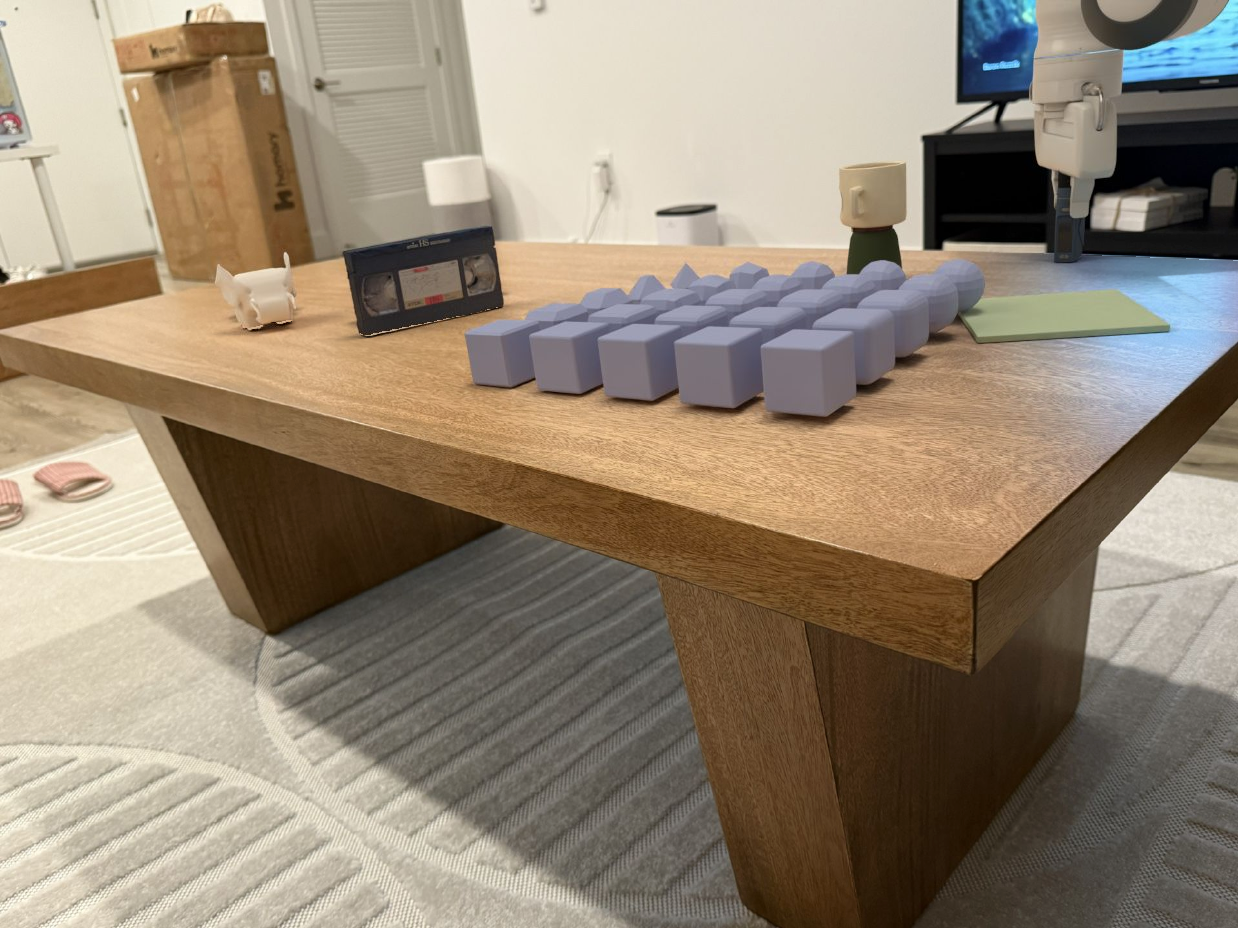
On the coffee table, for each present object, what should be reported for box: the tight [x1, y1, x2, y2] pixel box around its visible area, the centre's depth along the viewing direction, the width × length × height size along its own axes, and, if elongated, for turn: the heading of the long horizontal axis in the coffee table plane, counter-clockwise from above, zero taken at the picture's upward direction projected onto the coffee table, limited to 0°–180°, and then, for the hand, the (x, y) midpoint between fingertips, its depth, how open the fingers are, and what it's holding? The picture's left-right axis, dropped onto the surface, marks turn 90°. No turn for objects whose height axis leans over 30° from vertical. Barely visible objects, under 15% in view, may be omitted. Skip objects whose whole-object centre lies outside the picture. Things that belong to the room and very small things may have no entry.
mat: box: [957, 288, 1171, 344], centre depth 89 cm, size 15×15×1 cm
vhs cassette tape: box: [342, 225, 505, 335], centre depth 118 cm, size 18×3×10 cm, turn 123°
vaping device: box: [1053, 170, 1086, 263], centre depth 111 cm, size 3×5×12 cm, turn 145°
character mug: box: [838, 160, 907, 274], centre depth 110 cm, size 11×7×13 cm, turn 143°
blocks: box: [464, 258, 986, 418], centre depth 90 cm, size 35×34×5 cm
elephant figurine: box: [214, 251, 298, 328], centre depth 126 cm, size 10×12×9 cm
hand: (1070, 213), depth 111 cm, fingers closed on vaping device, 5 cm apart
